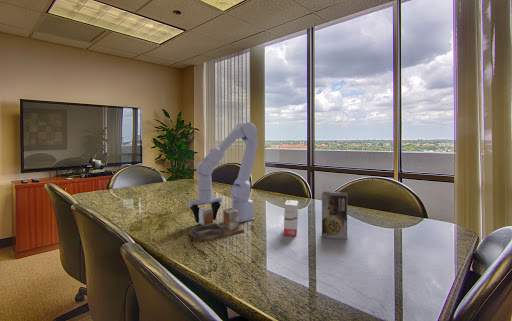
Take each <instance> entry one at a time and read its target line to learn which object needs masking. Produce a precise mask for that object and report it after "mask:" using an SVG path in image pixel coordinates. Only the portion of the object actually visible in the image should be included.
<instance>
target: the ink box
mask: <svg viewBox="0 0 512 321" xmlns="http://www.w3.org/2000/svg"><path fill="white" fill-rule="evenodd" d="M283 216H284V217H283V218H284V219H283V236H290V237H291V236H292V237H293V236H294V237H296V236H297V232H298V225H299V224H298V221H299V220H298V219H299V217H298V216H299V200H293V199H292V200H291V199H287V200H285V203H284V215H283Z"/></svg>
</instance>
